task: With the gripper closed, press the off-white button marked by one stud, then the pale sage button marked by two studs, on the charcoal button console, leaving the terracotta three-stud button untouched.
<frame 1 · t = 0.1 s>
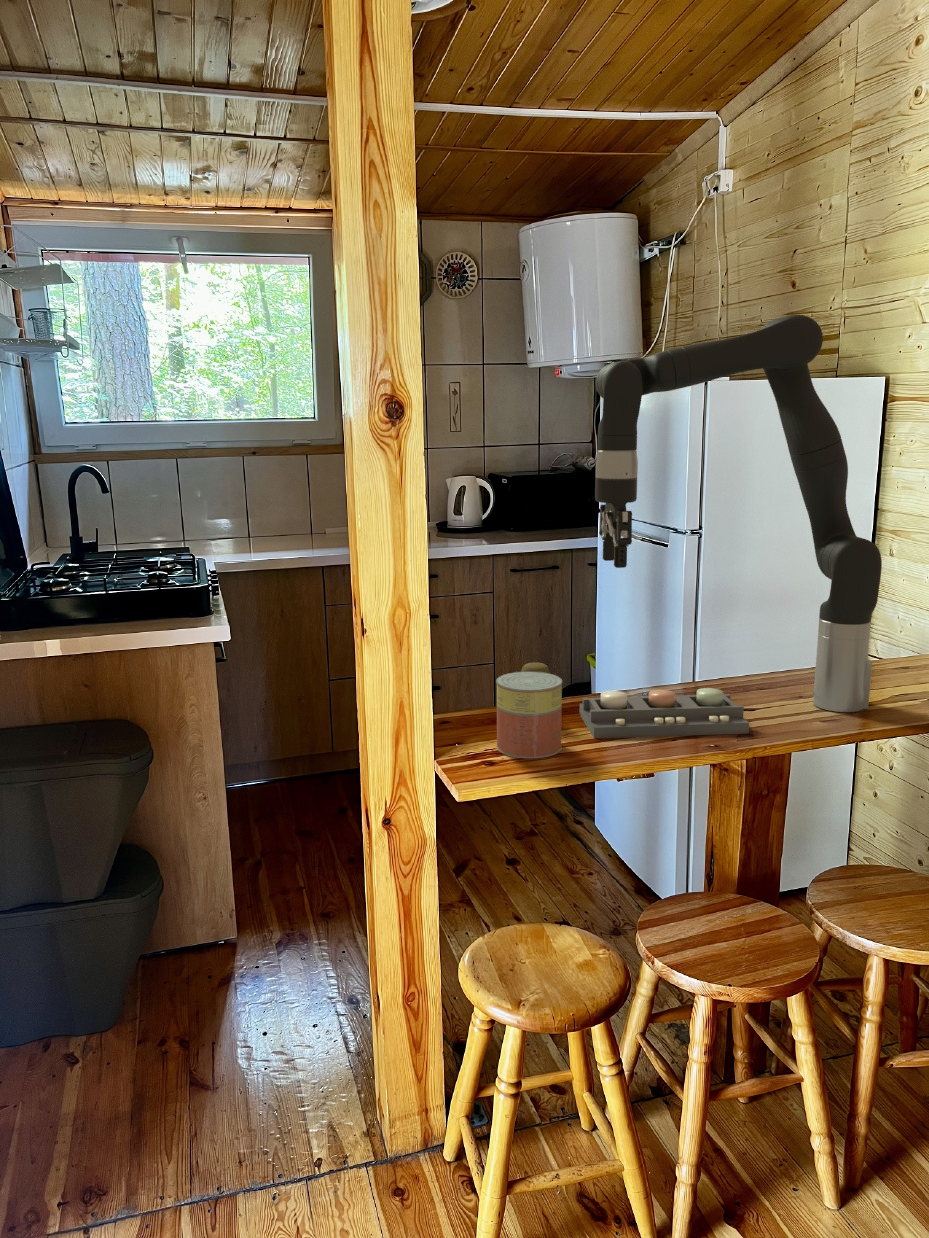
hand: (614, 563, 172), 29 cm above the counter, fingers open, 8 cm apart
console: (661, 723, 172), on the counter
button two: (709, 696, 171), point 5 cm above the counter, slide at 0.0 cm
button three: (661, 698, 171), point 5 cm above the counter, slide at 0.0 cm
cork: (535, 721, 174), on the counter
canned food: (528, 747, 161), on the counter
button one: (613, 699, 170), point 5 cm above the counter, slide at 0.0 cm
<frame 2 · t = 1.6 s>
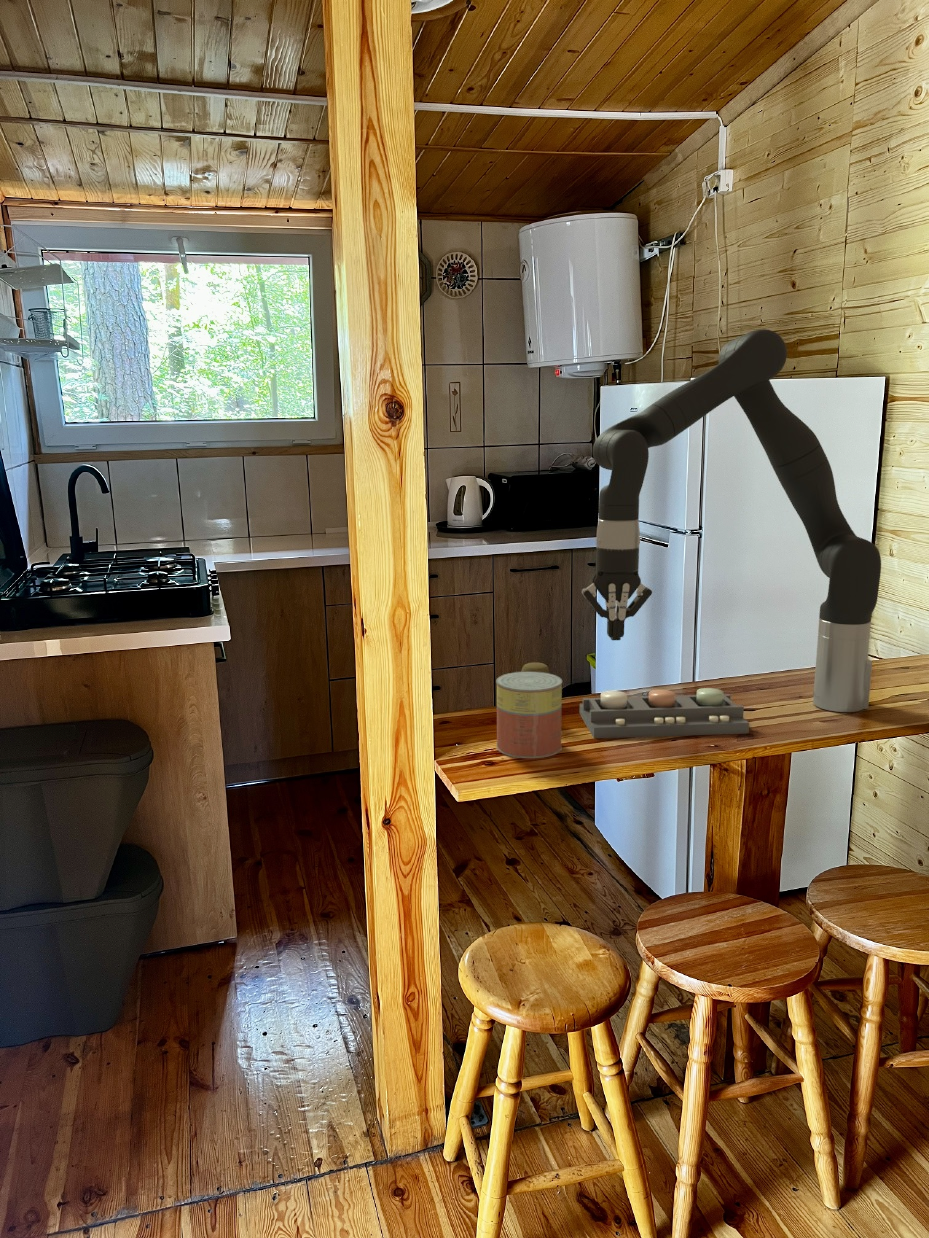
hand: (615, 639, 168), 16 cm above the counter, fingers closed
nothing on the counter moved.
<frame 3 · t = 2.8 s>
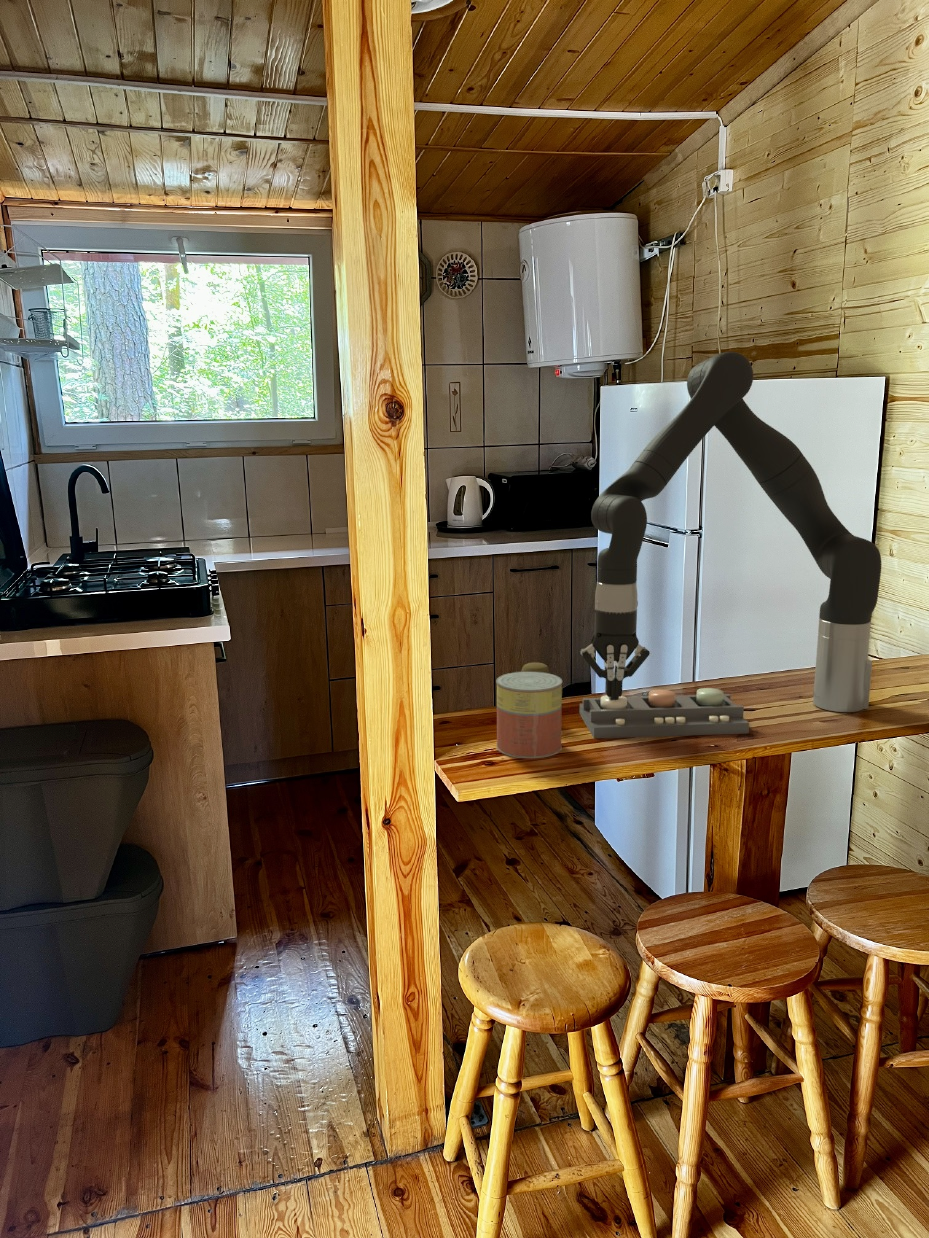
hand: (613, 698, 170), 5 cm above the counter, fingers closed
button one: (613, 703, 170), point 4 cm above the counter, slide at 0.8 cm, touching gripper
everything else where it was.
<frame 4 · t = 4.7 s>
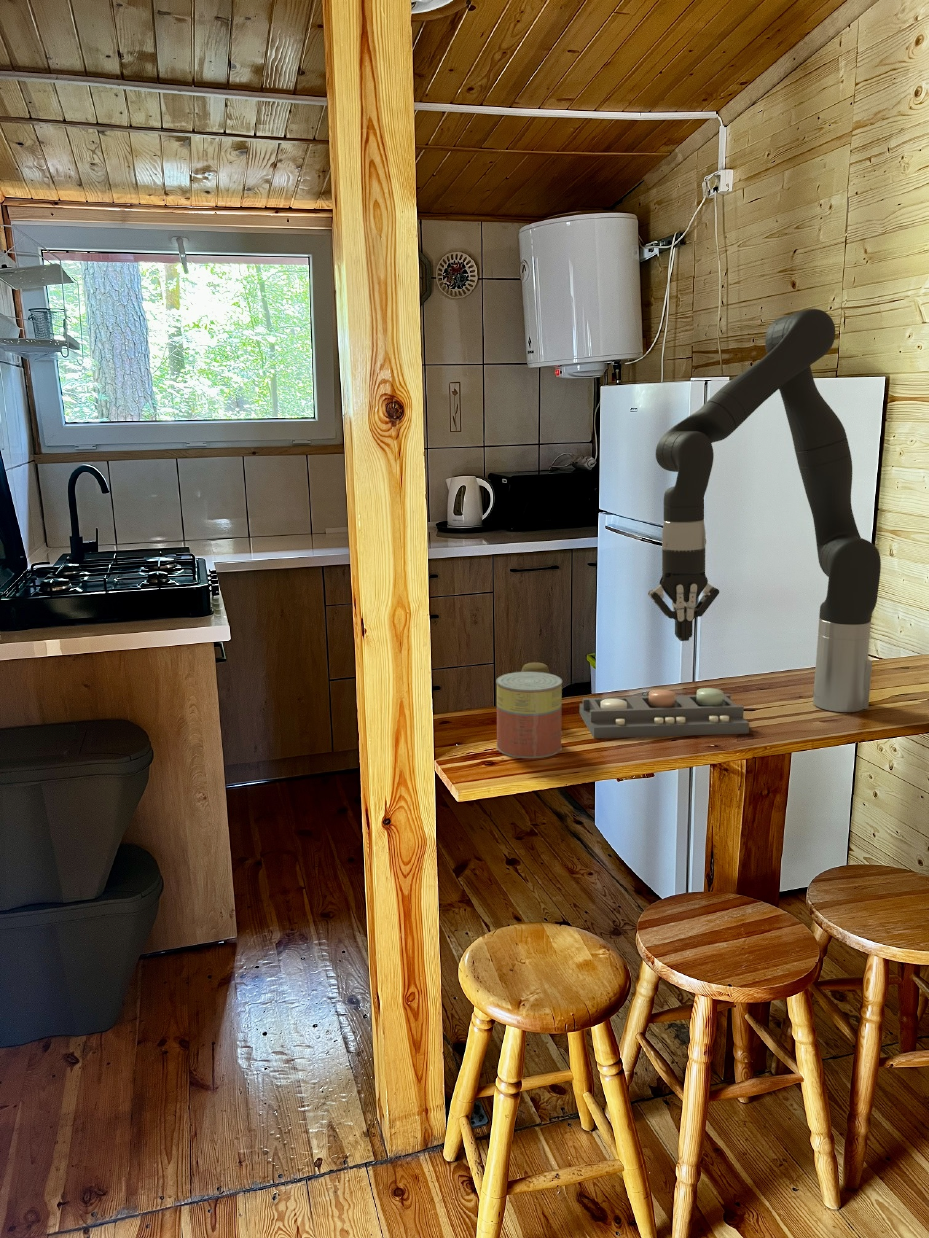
hand: (683, 639, 168), 16 cm above the counter, fingers closed
button one: (613, 707, 171), point 3 cm above the counter, slide at 1.5 cm
everything else where it was.
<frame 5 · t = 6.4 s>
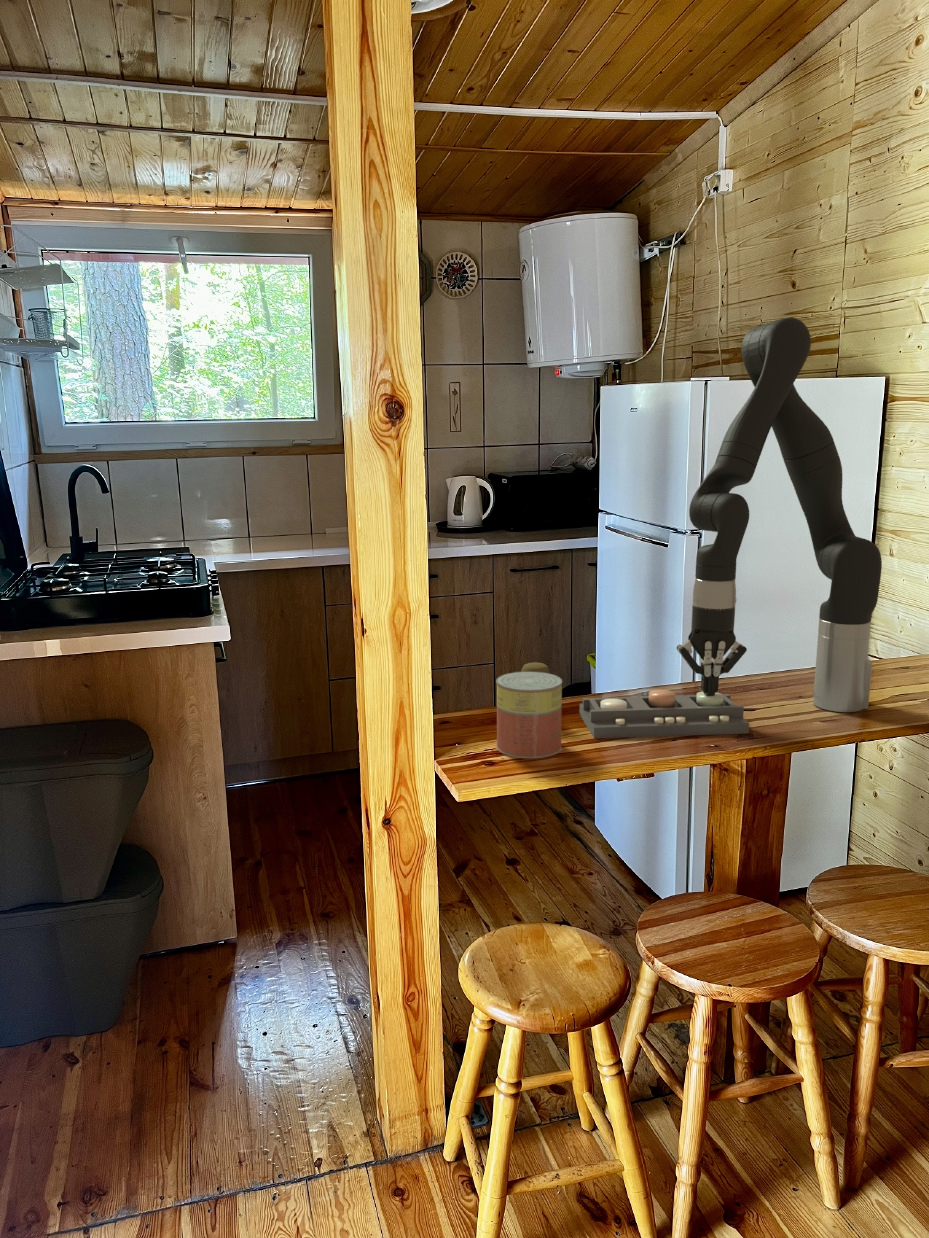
hand: (708, 694, 171), 5 cm above the counter, fingers closed
button two: (709, 700, 171), point 4 cm above the counter, slide at 0.6 cm, touching gripper
everything else where it was.
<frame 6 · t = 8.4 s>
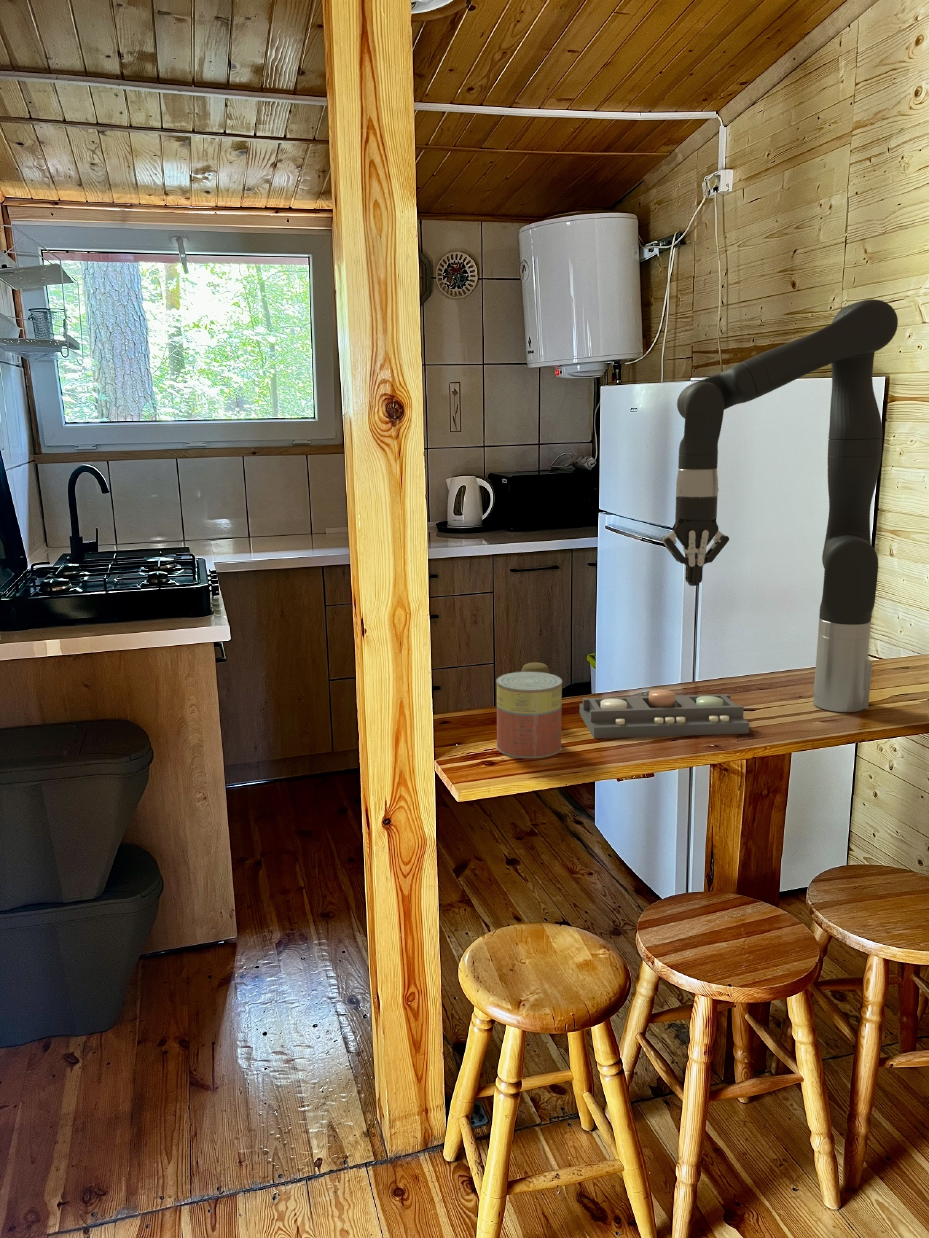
hand: (693, 585, 176), 24 cm above the counter, fingers closed
button two: (709, 705, 172), point 3 cm above the counter, slide at 1.6 cm
everything else where it was.
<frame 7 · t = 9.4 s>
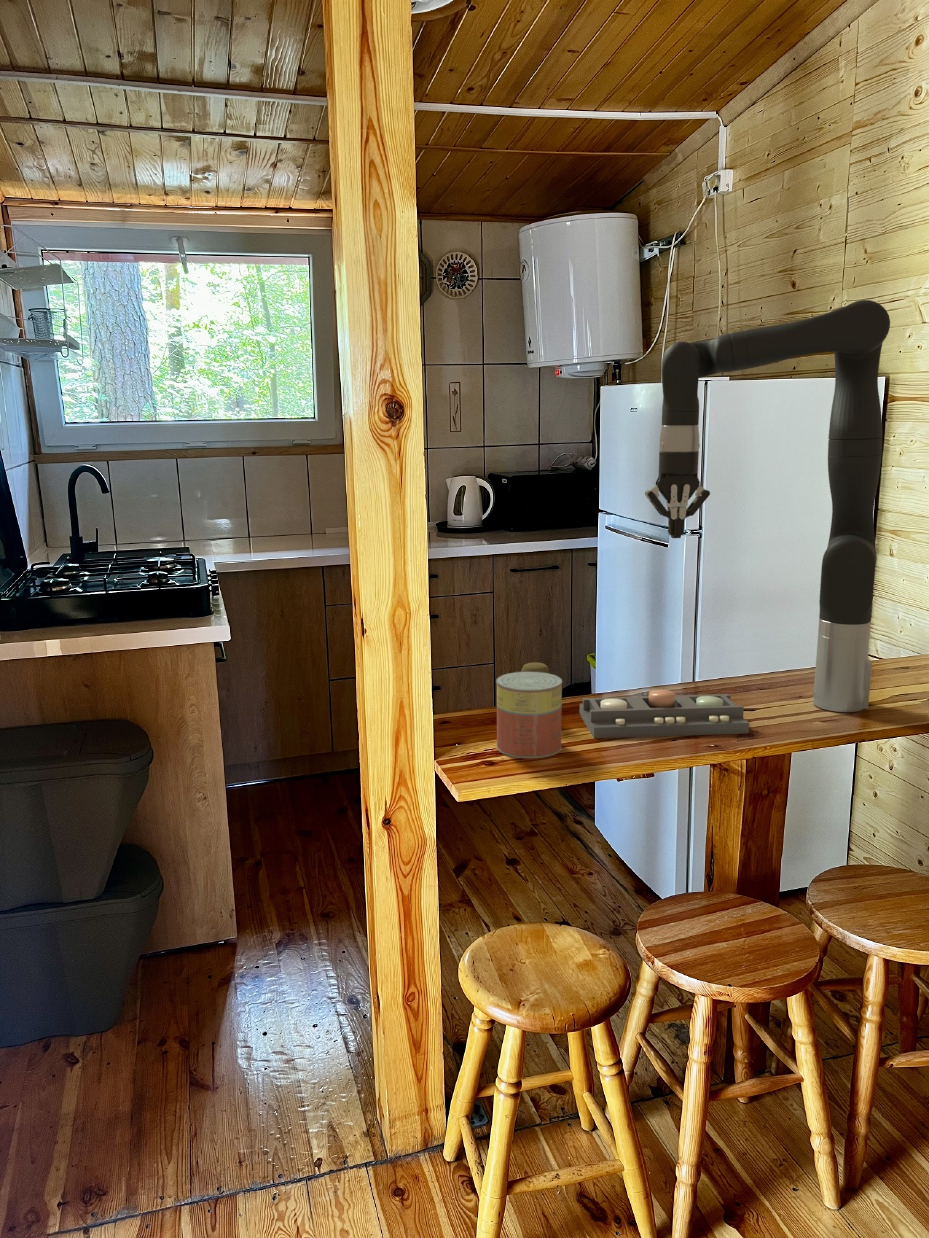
hand: (675, 537, 184), 32 cm above the counter, fingers closed
nothing on the counter moved.
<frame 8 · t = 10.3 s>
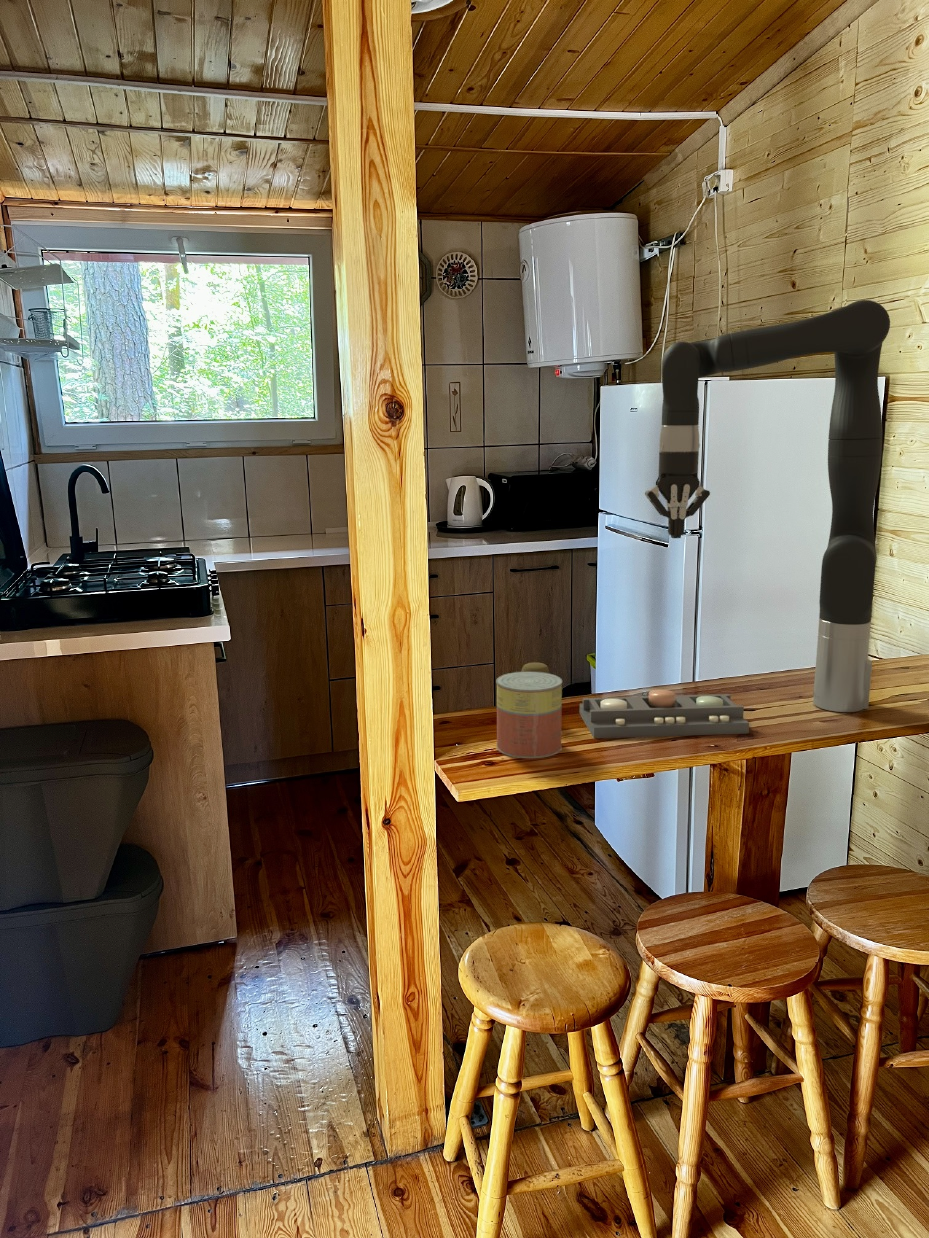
hand: (675, 537, 184), 32 cm above the counter, fingers closed
nothing on the counter moved.
at the end: button one slide at 1.5 cm; button two slide at 1.6 cm; button three slide at 0.0 cm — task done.
